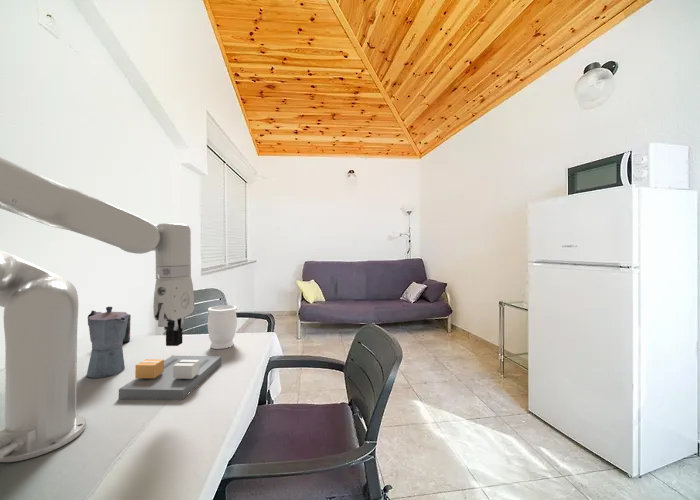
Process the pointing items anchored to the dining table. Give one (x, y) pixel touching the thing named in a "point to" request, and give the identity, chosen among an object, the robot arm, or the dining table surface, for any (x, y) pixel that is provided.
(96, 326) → the moka pot
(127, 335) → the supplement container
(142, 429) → the dining table surface
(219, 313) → the jar
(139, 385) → the console
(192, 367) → the block
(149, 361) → the orange fader
